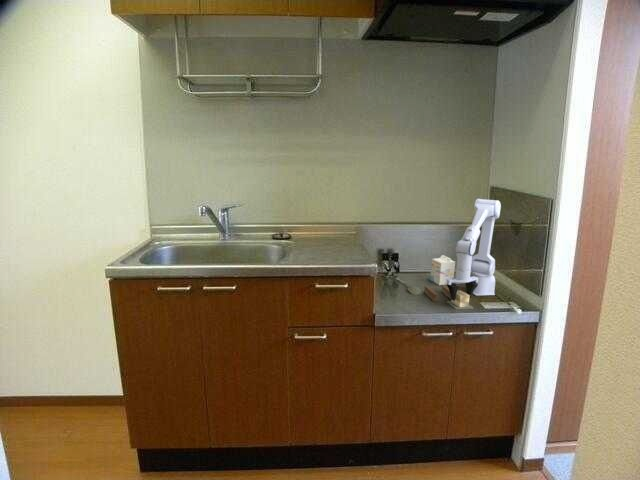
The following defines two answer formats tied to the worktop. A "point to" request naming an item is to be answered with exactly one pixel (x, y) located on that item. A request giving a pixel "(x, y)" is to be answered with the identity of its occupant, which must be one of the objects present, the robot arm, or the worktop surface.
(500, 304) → the worktop surface
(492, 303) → the worktop surface
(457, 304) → the maple block
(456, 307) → the gray mat
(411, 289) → the soupspoon
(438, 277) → the ink box
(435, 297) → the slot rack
